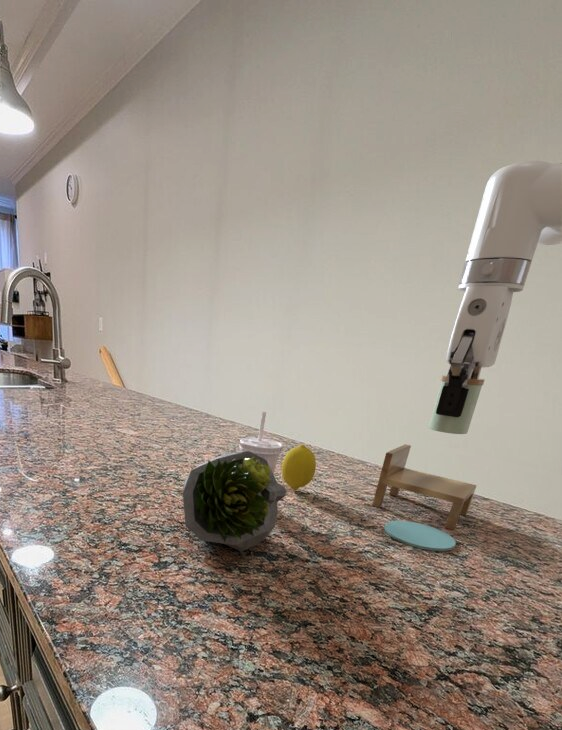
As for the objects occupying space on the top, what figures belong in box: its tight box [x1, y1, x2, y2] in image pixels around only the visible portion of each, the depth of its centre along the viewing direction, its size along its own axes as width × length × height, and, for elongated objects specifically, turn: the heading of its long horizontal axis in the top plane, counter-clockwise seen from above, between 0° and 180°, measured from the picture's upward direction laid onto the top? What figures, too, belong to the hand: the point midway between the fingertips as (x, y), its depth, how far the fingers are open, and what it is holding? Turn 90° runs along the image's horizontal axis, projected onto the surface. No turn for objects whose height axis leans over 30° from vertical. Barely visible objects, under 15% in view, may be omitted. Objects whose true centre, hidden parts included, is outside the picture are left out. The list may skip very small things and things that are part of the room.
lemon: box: [281, 444, 317, 491], centre depth 76 cm, size 6×6×8 cm
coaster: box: [384, 520, 457, 552], centre depth 63 cm, size 9×9×1 cm
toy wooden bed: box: [371, 444, 478, 531], centre depth 71 cm, size 12×10×9 cm
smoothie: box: [238, 411, 284, 475], centre depth 67 cm, size 6×6×14 cm
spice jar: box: [428, 374, 485, 435], centre depth 66 cm, size 5×5×8 cm
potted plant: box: [182, 451, 287, 553], centre depth 53 cm, size 12×13×15 cm
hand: (452, 412), depth 67 cm, fingers closed on spice jar, 5 cm apart
